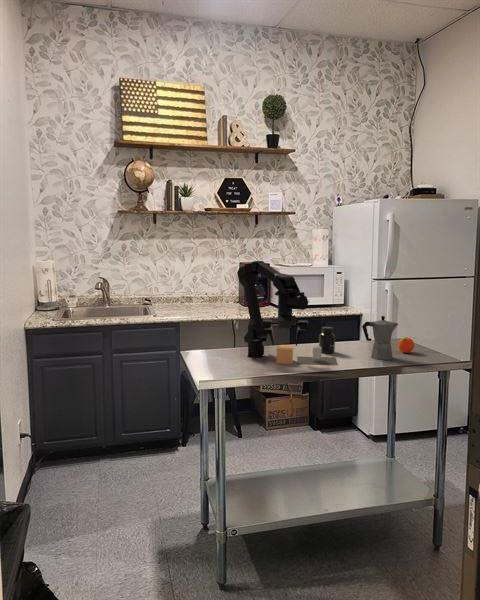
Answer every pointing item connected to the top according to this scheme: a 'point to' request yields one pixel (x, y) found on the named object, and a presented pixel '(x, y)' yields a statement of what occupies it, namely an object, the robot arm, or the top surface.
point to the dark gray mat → (310, 362)
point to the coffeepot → (381, 338)
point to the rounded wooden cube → (284, 354)
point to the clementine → (406, 345)
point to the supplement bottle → (327, 340)
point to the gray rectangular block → (317, 353)
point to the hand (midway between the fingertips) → (284, 345)
